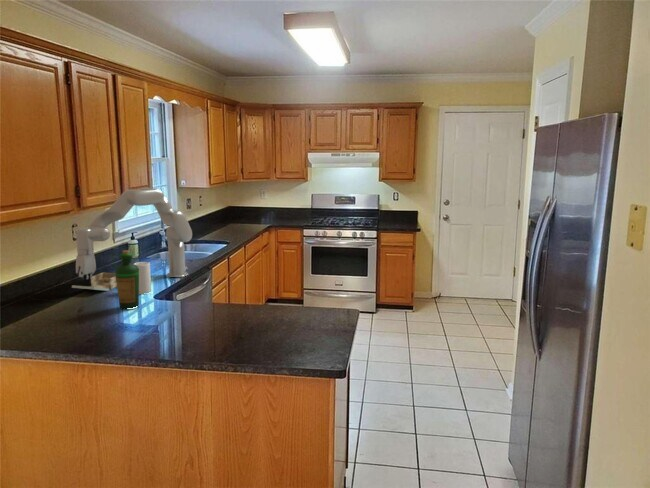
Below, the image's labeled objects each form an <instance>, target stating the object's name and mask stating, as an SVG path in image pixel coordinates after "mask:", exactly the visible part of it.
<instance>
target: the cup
mask: <svg viewBox="0 0 650 488" xmlns="http://www.w3.org/2000/svg"><path fill="white" fill-rule="evenodd" d="M133 264H134V265H136V266H137V267H138V268H139V294H143V295H145V294H144V293H149V292H151V293H152V280H151V278H152V277H151V262H148V261H138V262H135V263H133ZM149 294H150V293H149Z"/></svg>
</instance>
